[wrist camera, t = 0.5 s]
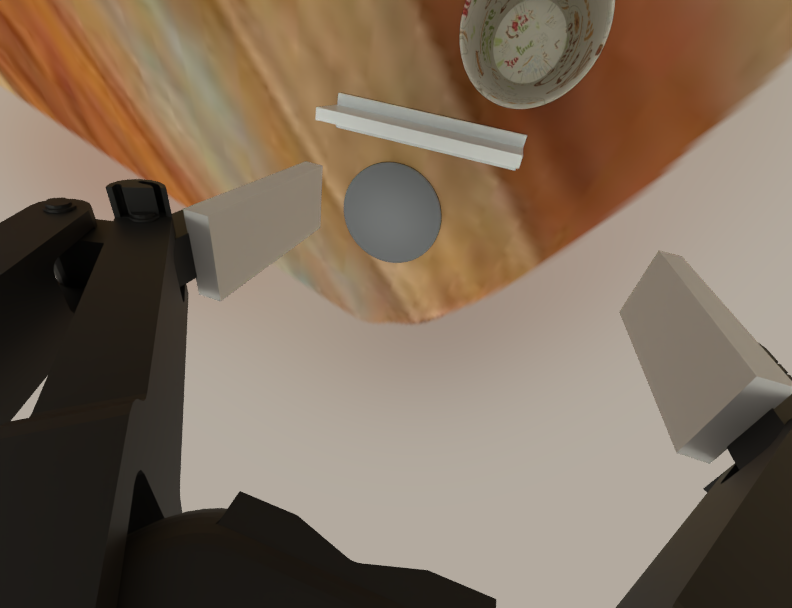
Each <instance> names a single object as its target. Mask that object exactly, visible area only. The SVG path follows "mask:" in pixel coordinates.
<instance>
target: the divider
mask: <svg viewBox="0 0 792 608" xmlns="http://www.w3.org/2000/svg"><path fill="white" fill-rule="evenodd" d="M316 120H319V121H323V122H327V123H331V124H336V127H337V128H341V129H345V130H350V131H354V132H358V133H362V134H366V135H370V136H374V137H378V138H383V139H387V140H391V141H395V142H399V143H403V144H407V145H411V146H415V147H420V148H424V149H428V150H432V151H436V152H440V153H444V154H448V155H452V156H457V157H461V158H465V159H469V160H473V161H477V162H481V163H485V164H490V165H494V166H498V167H502V168H506V169H510V170H514V171H515V170H516V168H518V169H519V167H520V164H521V161H522V158H523V147H524V144H525V141H526V138H527V135H525V134H521V133H516V132H512V131H507V130H503V129H499V128H494V127H490V126H485V125H481V124H477V123H472V122H468V121H463V120H459V119H455V118H450V117H446V116H441V115H437V114H433V113H428V112H424V111H419V110H415V109H410V108H406V107H402V106H397V105H393V104H388V103H384V102H380V101H375V100H371V99H366V98H362V97H358V96H353V95H349V94H344V93H338V104H337V105H330V106H320V107H316Z"/></svg>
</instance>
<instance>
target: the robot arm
mask: <svg viewBox="0 0 792 608" xmlns="http://www.w3.org/2000/svg"><path fill="white" fill-rule="evenodd" d="M322 167H323V166H322V165H318V164H314V163H310V162H306V161H305V162H303V163H300V164H298V165H295V166H293V167H290V168H287V169H285V170H282V171H280V172H277V173H274V174H272V175H269V176H267V177H264V178H262V179H259V180H256V181H254V182H251V183H249V184H246V185H243V186H241V187H238V188H236V189H233V190H230V191H228V192H225V193H223V194H220V195H218V196H215V197H212V198H210V199H207V200H205V201H202V202H199V203H197V204H194V205H192V206H189V207H187V208H184V209H183V210H181V211H178V212H175V213H173V214H171V209H170V205H169V200H168V195H167V190H166V187H165V185H164V184H162V183H160V182H156V181H152V180H142V179H134V180H122V181H117V182H114V183H111V184H109V185H107V186H106V190H107V193H108V197H109V200H110V203H111V207H112V210H113V213H114V216H115V219H114V221H107V220H98V219H95V216H94V213H93V210H92V207H91V205H90V204H89V203H88V202H85V201H83V200H76V199H66V198H52V199H48V200H46V201H42V202H38V203H36V204H33V205H30V206H29V207H27V208H25V209H24V210H22V211H20V212H18V213H16V214H15V215H13V216H11V217H9V218H8V219H6V220H4V221H2V222H1V223H0V608H496V599H494V598H492V597H490V596H487V595H485V594H483V593H480V592H478V591H476V590H473V589H471V588H468V587H466V586H464V585H461V584H459V583H457V582H454V581H452V580H449V579H447V578H445V577H442V576H440V575H437V574H435V573H432V572H430V571H428V570H419V569H409V568H400V567H391V566H381V565H371V564H362V563H357V562H354V561H352V560H350V559H349V558H347V557H346V556H345V555H344V554H342V553H341V552H340V551H339V550H338V549H336V548H335V547H334V546H333V545H332V544H331V543H329V542H328V541H327V540H326V539H324V538H323V537H322V536H321V535H320V534H319V533H318V532H316V531H315V530H314V529H313V528H312V527H310V526H309V525H308V524H307V523H306V522H304V521H303V520H302V519H301V518H300V517H299V516H297V515H295V514H293V513H290V512H288V511H286V510H283V509H281V508H279V507H276V506H273V505H271V504H269V503H267V502H264V501H262V500H259V499H257V498H255V497H252V496H250V495H248V494H245V493H243V492H241V491H240V492H239V493H238V495H237V496H236V497H235V499H234V500H233V502H232V503H231V505H230V506H229V508H228V509H224V508H215V509H201V510H195V511H188V512H184V513H182V508H181V501H180V470H181V445H182V423H183V402H184V379H185V357H186V335H187V313H188V290H187V285H186V283H188V282H189V281H191V280H193V279H195V278H196V280H197V286H198V291H199V294H200V295H203V296H206V297H209V298H212V299H215V300H218V301H222V300H223V299H224V298H226V297H227V296H228V295H230V294H231V293H233V292H234V291H235V290H237V289H238V288H239V287H241V286H242V285H243V284H245V283H246V282H247V281H249V280H250V279H251V278H253V277H254V276H256V275H257V274H258V273H260V272H261V271H262V270H264V269H265V268H266V267H268V266H269V265H270V264H272V263H273V262H275V261H276V260H277V259H279V258H280V257H281V256H283V255H284V254H285V253H287V252H288V251H289V250H291V249H292V248H293V247H295V246H296V245H298V244H299V243H300V242H302V241H303V240H304V239H306V238H307V237H308V236H310V235H311V234H312V233H314V232H315V231H316V230H318V229H319V228H320V219H321V193H322ZM55 276H56V278H57V279H56V278H55ZM620 315H621V317H622V320H623V322H624V324H625V327H626V329H627V332H628V334H629V337H630V339H631V342H632V344H633V347H634V349H635V352H636V354H637V356H638V359H639V361H640V364H641V366H642V369H643V371H644V374H645V376H646V379H647V381H648V384H649V386H650V388H651V391H652V393H653V396H654V398H655V401H656V403H657V406H658V408H659V411H660V413H661V416H662V418H663V420H664V423H665V425H666V427H667V430H668V433H669V435H670V438H671V440H672V442H673V445H674V447H675V450H676V452H677V453H679V454H682V455H685V456H688V457H691V458H694V459H697V460H700V461H703V462H706V463H709V464H710V463H711V462H712V461H713V460H715V459H716V458H717V457H718V456H719V455H721V454H722V453H723V452H724V451H725V450H726V449H728V450H729V452H730V454H731V456H732V458H733V460H734V461H735V464H734V465H732V466H731V467H730V468H729V469H727V470H726V471H725V472H724V473H723V474H721V475H720V476H719V477H717V478H716V479H715V480H714V481H712V482H711V483H710V484H709V485H707V486H706V487H705V488H704V490H705V491H706V492H707V494H706V495H705V497H704V498H703V499H702V500H701V502H700V503H699V504H698V505H697V507H696V508H695V509H694V510H693V512H692V513H691V514H690V516H689V517H688V518H687V519H686V520H685V522H684V523H683V524H682V525H681V527H680V528H679V529H678V530H677V532H676V533H675V534H674V535H673V537H672V538H671V539H670V540H669V542H668V543H667V544H666V545H665V547H664V548H663V549H662V550H661V552H660V553H659V554H658V555H657V557H656V558H655V559H654V561H653V562H652V563H651V564H650V565H649V567H648V568H647V569H646V571H645V572H644V573H643V574H642V576H641V577H640V578H639V579H638V580H637V582H636V583H635V584H634V586H633V587H632V588H631V589H630V591H629V592H628V593H627V594H626V595H625V597H624V598H623V599H622V600H621V602H620V603H619V604H618V605H617V607H616V608H792V377H791V376H790V375H787V373H788V372H787V371H786V370H785V369H784V368H783V367H782V366H781V365H780V364H777V363H778V361H777V360H776V359H775V358H774V357H773V355H771V353H770V352H769V351H768V350H767V349H766V348H765V347H763V346H762V345H761V344H759V343H758V342H757V341H756V340H755V339H754V338H753V337H752V335H751V334H750V333H749V332H748V331H747V330H746V329H745V328H744V326H743V325H742V324H741V323H740V322H739V321H738V320H737V318H736V317H735V316H734V315H733V314H732V313H731V312H730V311H729V309H728V308H727V307H726V306H725V305H724V304H723V303H722V301H721V300H720V299H719V298H718V297H717V296H716V295H715V293H714V292H713V291H712V290H711V289H710V288H709V287H708V286H707V284H706V283H705V282H704V281H703V280H702V279H701V278H700V277H699V275H698V274H697V273H696V272H695V271H694V270H693V268H692V267H691V266H690V265H689V264H688V263H687V262H686V261H685V259H684V258H683V257H682V256H679V255H675V254H670V253H667V252H663V251H658V253H657V254H656V256H655V257H654V259H653V260H652V262H651V264H650V265H649V267H648V268H647V270H646V272H645V273H644V274H643V276H642V278H641V279H640V281H639V282H638V284H637V285H636V287H635V288H634V290H633V292H632V293H631V295H630V296H629V298H628V299H627V301H626V303H625V304H624V306H623V307H622V309H621V310H620ZM47 375H48V377H47ZM46 377H47V379H46V382H45V384H44V386H43V389H42V391H41V393H40V396H39V398H38V401H37V403H36V405H35V407H34V410H33V412H32V414H31V416H30V417H29V418H26V419H21V420H16V421H11V419H12V418H13V417H14V416H15V415H16V414H17V412H18V411H19V410H20V409H21V407H22V406H23V404H25V402H26V401H27V400H28V399H29V398H30V396H31V395H32V394H33V393H34V391H35V390H36V389H37V387H39V385H40V384H41V383H42V381H43V380H44V379H45V378H46Z"/></svg>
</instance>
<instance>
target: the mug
mask: <svg viewBox="0 0 792 608" xmlns="http://www.w3.org/2000/svg"><path fill="white" fill-rule="evenodd" d="M614 8H615V0H466V2H465V5H464V8H463V12H462V17H461V24H460V35H459V36H460V52H461V57H462V61H463V65H464V68H465V70H466V73H467V75H468V77H469V79H470V81H471V82H472V84H473V85H474V87H475V88H476V89H477V90H478V91H479V92H480V93H481V94H482V95H483V96H484V97H485V98H487V99H488V100H490V101H491V102H493V103H495V104H497V105H500V106H503V107H506V108H512V109H529V108H534V107H538V106H542V105H545V104H547V103H550V102H552V101H554V100H556V99H557V98H559V97H561V96H562V95H564V94H565V93H567V92H568V91H569V90H571V89H572V88H573V87H574V86H575V85H576V84H577V83H579V81H580V80H581V79H582V78H583V77H584V76H585V75H586V74H587V73H588V71H589V70H590V69H591V67H592V66H593V64H594V63H595V62H596V60H597V58H598V57H599V55H600V53H601V51H602V49H603V47H604V45H605V42H606V40H607V38H608V35H609V32H610V28H611V25H612V20H613V15H614Z"/></svg>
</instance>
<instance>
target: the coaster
mask: <svg viewBox="0 0 792 608" xmlns="http://www.w3.org/2000/svg"><path fill="white" fill-rule="evenodd" d="M344 216H345V221H346V224H347V227H348V230H349V232H350V234H351V235H352V237H353V239H354V240H355V241H356V243H357V244H358V245H359V246H360V247H361V248H362V249H363V250H364V251H365V252H367V253H368V254H370V255H371V256H373V257H375V258H377V259H380V260H382V261H386V262H393V263H402V262H407V261H411V260H414V259H416V258H418V257H419V256H421V255H423V254H424V253H425V252H426V251H427V250H428V249H429V248H430V247H431V246H432V244H433V243H434V241H435V239H436V237H437V235H438V232H439V229H440V225H441V208H440V203H439V200H438V197H437V194H436V193H435V191H434V189H433V187H432V186H431V184H430V183H429V182H428V181H427V179H426V178H425V177H424V176H423V175H421V174H420V173H419V172H417V171H416V170H414V169H413V168H411V167H409V166H406V165H403V164H400V163H395V162H383V163H378V164H374V165H372V166H370V167H367V168H366V169H364V170H363V171H361V172H360V173H359V174H358V175H357V176H356V177H355V178H354V179H353V180H352V182H351V184H350V185H349V187H348V189H347V192H346V195H345V200H344Z"/></svg>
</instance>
